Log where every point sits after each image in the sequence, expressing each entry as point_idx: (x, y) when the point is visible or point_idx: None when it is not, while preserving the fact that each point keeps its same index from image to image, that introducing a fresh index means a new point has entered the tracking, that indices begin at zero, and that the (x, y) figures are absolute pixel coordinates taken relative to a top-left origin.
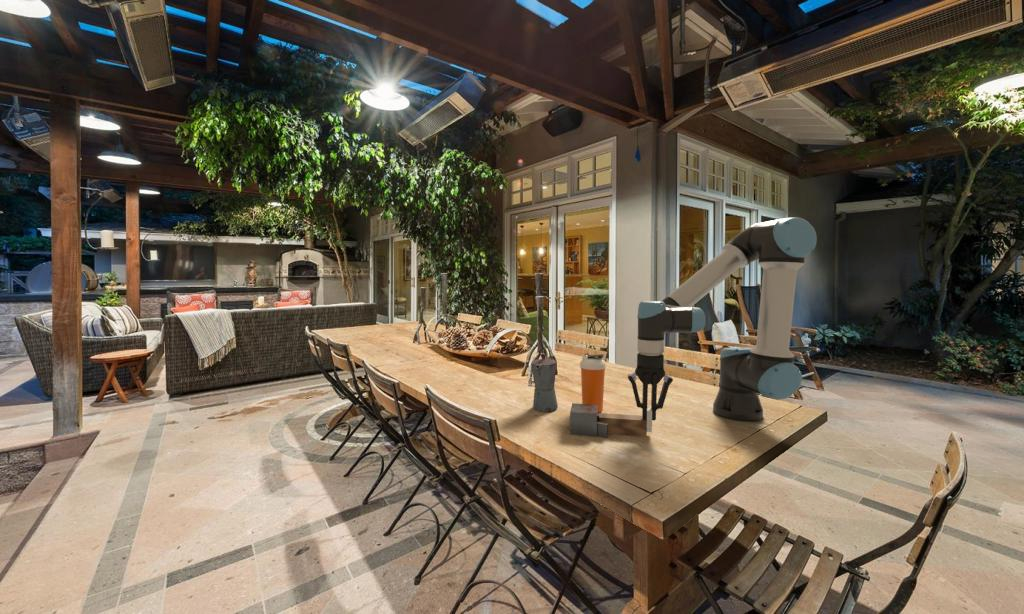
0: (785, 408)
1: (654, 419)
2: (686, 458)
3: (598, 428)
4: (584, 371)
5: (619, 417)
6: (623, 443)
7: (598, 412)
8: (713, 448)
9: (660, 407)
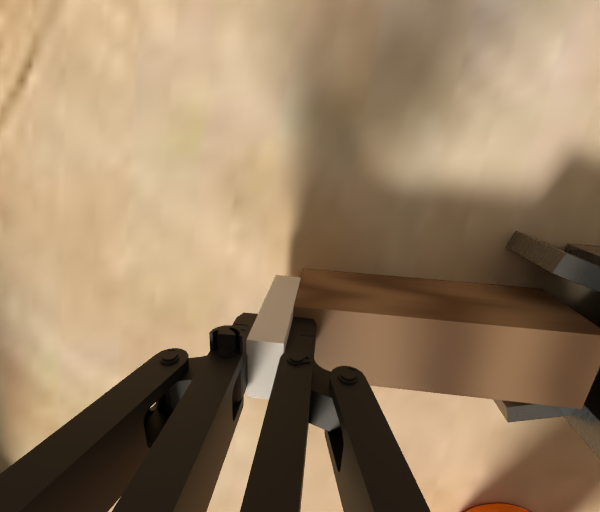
0: None
1: (245, 316)
2: (144, 22)
3: (590, 262)
4: None
5: (462, 343)
6: (438, 171)
7: (476, 507)
8: (25, 173)
9: (173, 352)
